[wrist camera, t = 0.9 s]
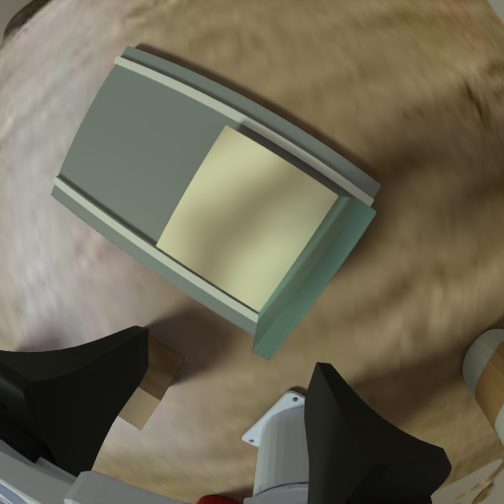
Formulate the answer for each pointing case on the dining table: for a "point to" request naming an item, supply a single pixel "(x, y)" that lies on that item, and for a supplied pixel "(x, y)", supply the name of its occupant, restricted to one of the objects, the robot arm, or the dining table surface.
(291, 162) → the track board
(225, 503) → the plastic cup
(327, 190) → the sliding tray
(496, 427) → the coffee cup
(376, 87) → the dining table surface
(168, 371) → the walnut block
